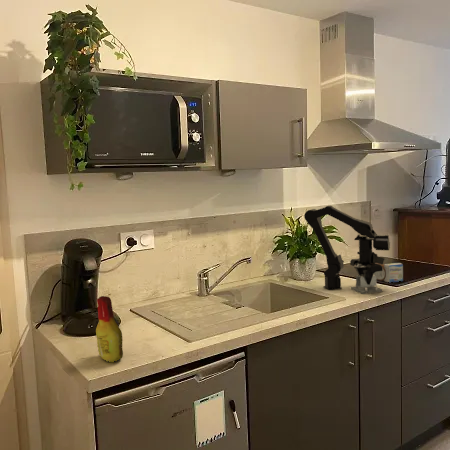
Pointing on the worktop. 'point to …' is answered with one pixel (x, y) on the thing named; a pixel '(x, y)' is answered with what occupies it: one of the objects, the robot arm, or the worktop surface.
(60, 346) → the worktop surface
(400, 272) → the medicine box
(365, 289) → the tray
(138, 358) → the worktop surface
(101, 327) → the bottle
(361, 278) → the block
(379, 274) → the tin
